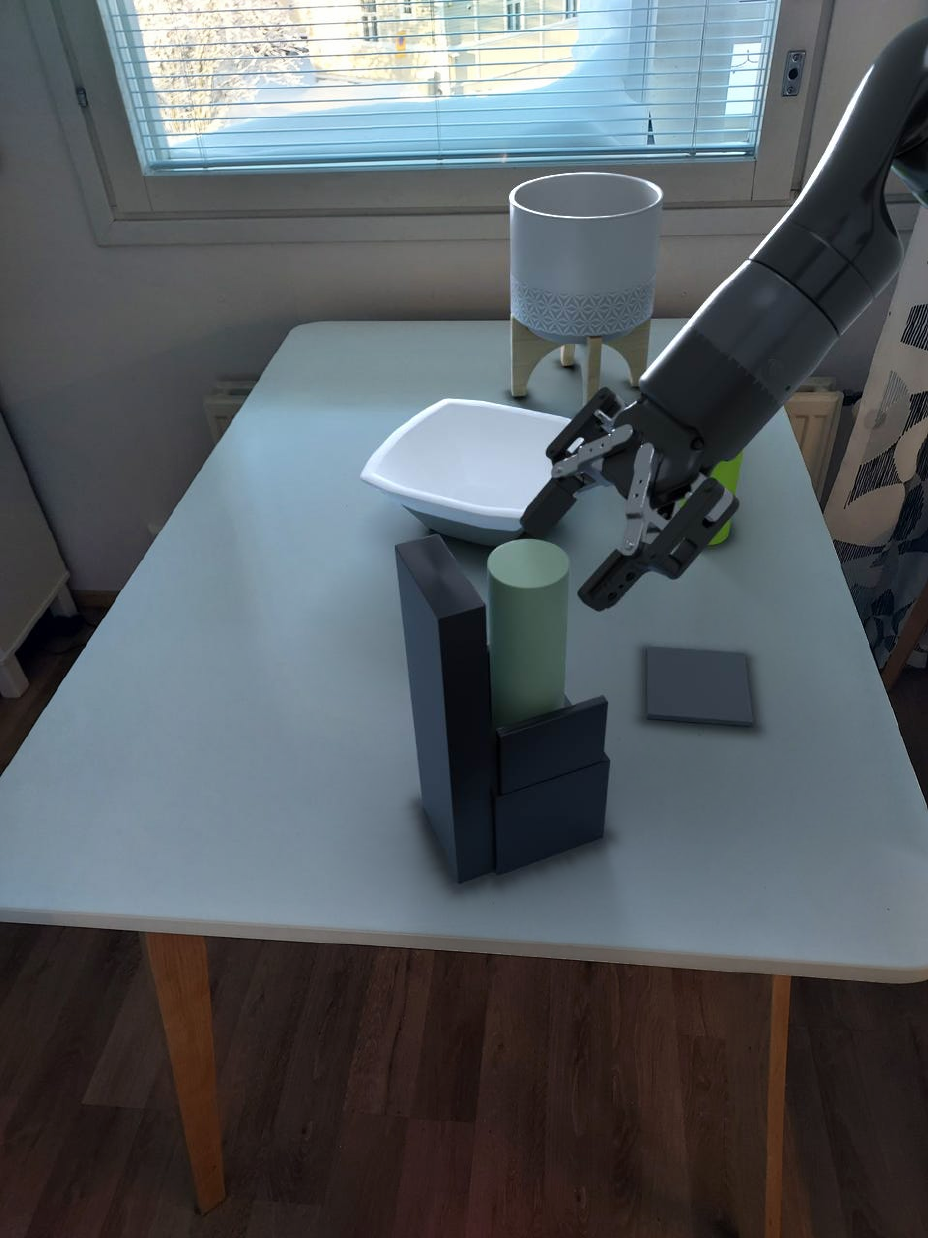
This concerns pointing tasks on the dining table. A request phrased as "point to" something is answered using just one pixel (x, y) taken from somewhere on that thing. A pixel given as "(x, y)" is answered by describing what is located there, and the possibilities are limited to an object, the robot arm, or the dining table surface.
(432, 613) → the navy chair block
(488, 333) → the dining table surface
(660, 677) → the coaster
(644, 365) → the planter
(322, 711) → the dining table surface
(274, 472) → the dining table surface
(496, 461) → the bowl
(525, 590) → the green cylinder
